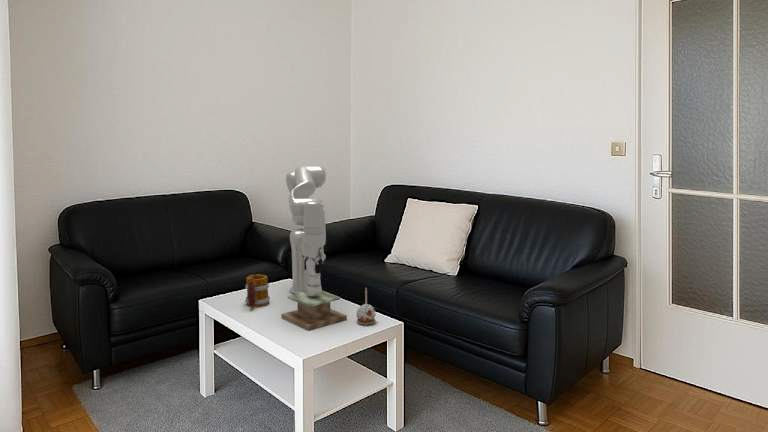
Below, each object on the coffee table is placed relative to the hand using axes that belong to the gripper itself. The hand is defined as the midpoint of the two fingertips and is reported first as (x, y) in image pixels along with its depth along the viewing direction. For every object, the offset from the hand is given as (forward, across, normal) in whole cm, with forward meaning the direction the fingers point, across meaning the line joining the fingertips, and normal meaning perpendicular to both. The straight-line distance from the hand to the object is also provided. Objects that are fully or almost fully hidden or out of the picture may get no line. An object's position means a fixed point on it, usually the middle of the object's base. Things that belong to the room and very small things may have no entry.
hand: (313, 270), depth 255 cm
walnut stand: (+21, 0, 0) cm, 21 cm away
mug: (+22, -33, -9) cm, 40 cm away
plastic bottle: (+11, 0, 0) cm, 11 cm away
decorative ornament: (+22, +18, +14) cm, 31 cm away
